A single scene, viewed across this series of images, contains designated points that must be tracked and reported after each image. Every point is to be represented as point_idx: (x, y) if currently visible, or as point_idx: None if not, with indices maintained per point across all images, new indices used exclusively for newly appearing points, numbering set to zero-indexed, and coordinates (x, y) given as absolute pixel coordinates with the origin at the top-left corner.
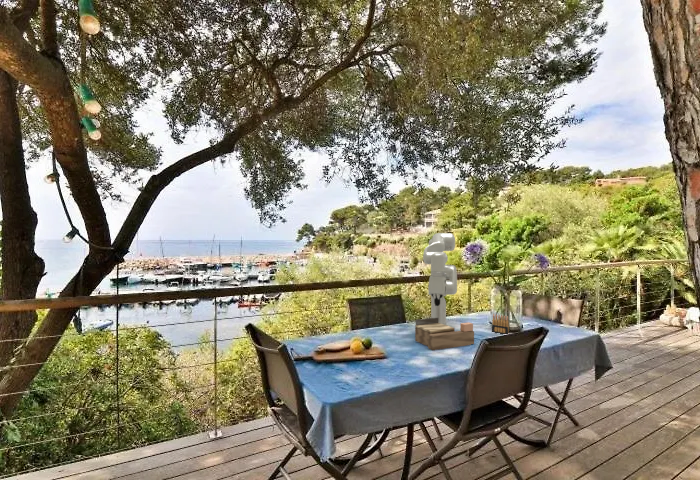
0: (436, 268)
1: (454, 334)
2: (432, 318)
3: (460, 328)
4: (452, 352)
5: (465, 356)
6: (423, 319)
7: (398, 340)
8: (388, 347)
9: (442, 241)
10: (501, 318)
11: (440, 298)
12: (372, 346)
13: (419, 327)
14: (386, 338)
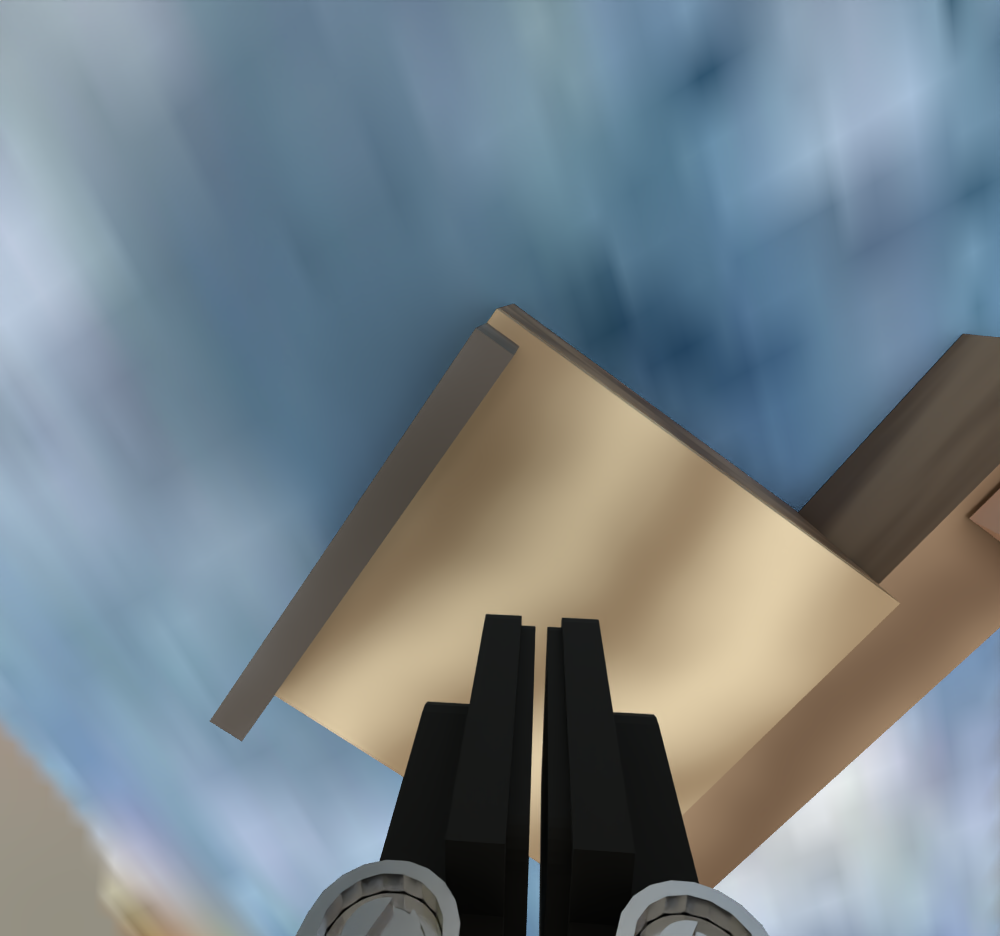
0: None
1: (891, 712)
2: (421, 474)
3: (994, 533)
4: (831, 794)
5: (977, 859)
6: (308, 638)
7: (176, 635)
8: (235, 877)
9: None
10: None
11: (728, 930)
12: (106, 901)
13: (355, 735)
14: (30, 619)
